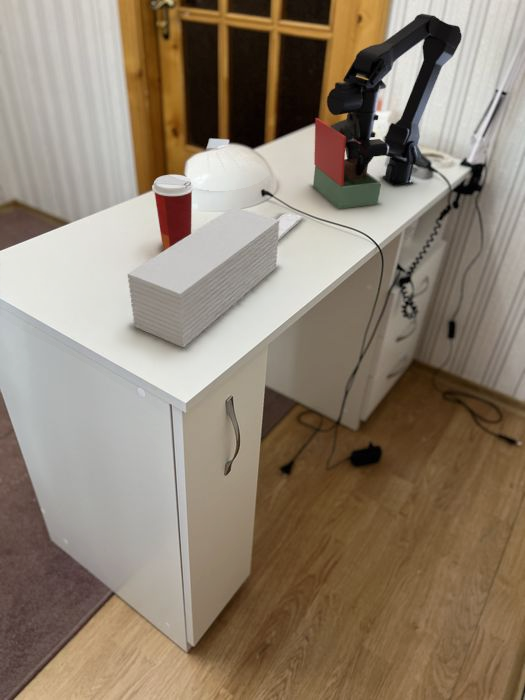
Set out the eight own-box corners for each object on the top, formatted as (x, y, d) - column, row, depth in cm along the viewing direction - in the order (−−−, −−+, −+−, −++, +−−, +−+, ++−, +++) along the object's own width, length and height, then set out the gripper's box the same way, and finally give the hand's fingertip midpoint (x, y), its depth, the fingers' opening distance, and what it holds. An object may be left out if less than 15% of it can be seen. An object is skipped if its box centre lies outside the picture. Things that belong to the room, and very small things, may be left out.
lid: (317, 117, 135) (315, 118, 134) (346, 136, 124) (343, 137, 123) (316, 164, 142) (314, 164, 142) (343, 185, 131) (341, 186, 131)
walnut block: (358, 172, 142) (360, 157, 140) (365, 177, 139) (368, 162, 137) (342, 174, 141) (344, 159, 138) (349, 179, 138) (351, 164, 135)
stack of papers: (233, 253, 115) (233, 206, 108) (276, 267, 111) (279, 220, 104) (134, 326, 93) (127, 273, 86) (183, 347, 89) (180, 293, 82)
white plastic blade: (254, 239, 120) (254, 234, 120) (283, 215, 131) (283, 211, 130) (273, 244, 119) (274, 239, 118) (301, 220, 129) (302, 215, 128)
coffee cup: (202, 243, 118) (199, 177, 108) (185, 260, 112) (182, 191, 102) (168, 236, 120) (163, 170, 110) (150, 252, 114) (143, 184, 104)
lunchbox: (349, 182, 150) (352, 162, 146) (377, 204, 139) (381, 182, 135) (312, 186, 146) (315, 165, 143) (338, 209, 135) (341, 187, 132)
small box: (227, 188, 142) (227, 148, 136) (206, 187, 142) (205, 147, 136) (229, 177, 148) (230, 138, 142) (209, 176, 148) (209, 137, 142)
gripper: (317, 101, 134) (311, 162, 143) (353, 122, 120) (344, 189, 130) (356, 98, 137) (347, 159, 147) (395, 119, 124) (383, 184, 134)
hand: (354, 172), depth 139 cm, fingers closed on walnut block, 4 cm apart
